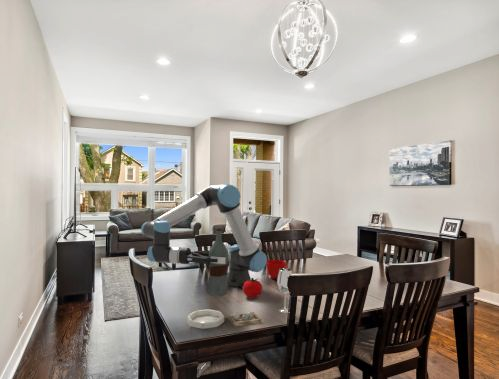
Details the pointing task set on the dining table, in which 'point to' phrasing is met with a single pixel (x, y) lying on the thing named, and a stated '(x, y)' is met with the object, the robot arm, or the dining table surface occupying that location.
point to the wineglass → (283, 285)
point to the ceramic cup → (275, 267)
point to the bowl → (205, 319)
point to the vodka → (218, 268)
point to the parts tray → (247, 322)
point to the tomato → (252, 288)
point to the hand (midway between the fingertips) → (227, 258)
